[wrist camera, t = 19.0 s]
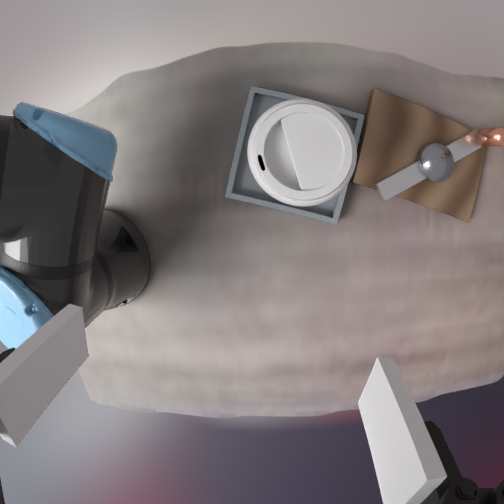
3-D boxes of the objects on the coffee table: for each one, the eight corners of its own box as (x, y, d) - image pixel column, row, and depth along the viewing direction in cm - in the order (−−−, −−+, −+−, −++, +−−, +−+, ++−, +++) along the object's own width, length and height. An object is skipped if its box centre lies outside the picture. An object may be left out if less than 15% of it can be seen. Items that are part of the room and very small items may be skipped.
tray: (228, 194, 42) (224, 197, 39) (252, 90, 37) (250, 85, 35) (333, 221, 41) (336, 225, 39) (359, 117, 37) (364, 115, 35)
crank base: (350, 181, 40) (353, 182, 38) (371, 90, 36) (374, 88, 34) (463, 220, 39) (468, 222, 38) (482, 139, 35) (487, 139, 34)
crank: (386, 208, 38) (405, 218, 32) (369, 174, 37) (386, 177, 31) (488, 150, 34) (516, 152, 27) (475, 118, 33) (502, 115, 26)
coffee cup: (262, 113, 37) (251, 88, 23) (337, 123, 37) (367, 104, 23) (254, 187, 40) (238, 202, 26) (328, 196, 40) (353, 217, 25)
